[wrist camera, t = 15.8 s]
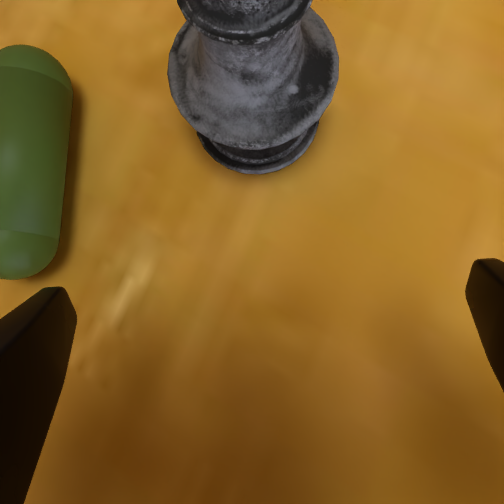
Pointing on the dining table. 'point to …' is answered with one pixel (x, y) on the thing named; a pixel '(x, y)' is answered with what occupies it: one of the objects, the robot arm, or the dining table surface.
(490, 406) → the dining table surface
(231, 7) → the chess piece
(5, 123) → the pickle
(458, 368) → the dining table surface
